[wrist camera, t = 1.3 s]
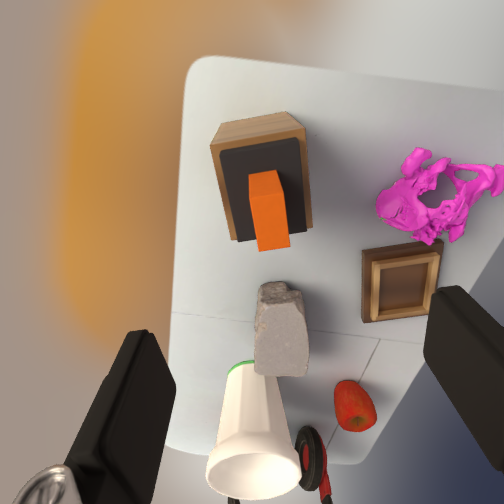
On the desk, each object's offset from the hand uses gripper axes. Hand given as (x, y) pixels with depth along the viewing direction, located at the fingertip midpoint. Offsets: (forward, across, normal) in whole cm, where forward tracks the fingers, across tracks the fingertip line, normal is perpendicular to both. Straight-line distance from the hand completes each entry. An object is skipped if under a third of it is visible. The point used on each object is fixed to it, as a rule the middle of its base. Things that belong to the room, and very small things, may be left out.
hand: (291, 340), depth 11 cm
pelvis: (+28, -19, +7) cm, 35 cm away
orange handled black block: (+16, 0, 0) cm, 16 cm away
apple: (+28, -9, +41) cm, 51 cm away
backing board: (+28, -16, +20) cm, 38 cm away
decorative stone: (+28, +1, +23) cm, 36 cm away
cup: (+28, +7, +36) cm, 46 cm away
